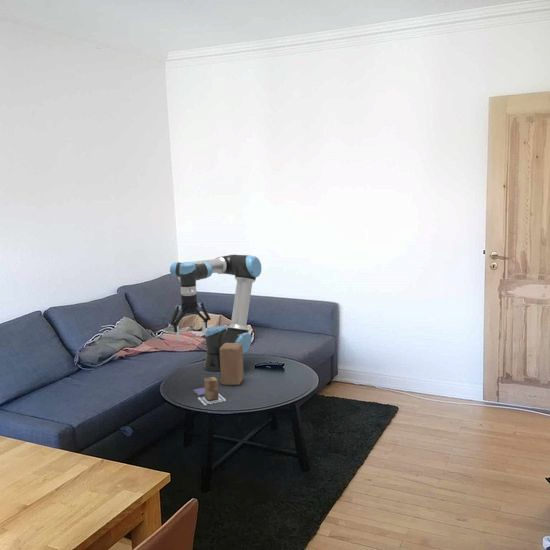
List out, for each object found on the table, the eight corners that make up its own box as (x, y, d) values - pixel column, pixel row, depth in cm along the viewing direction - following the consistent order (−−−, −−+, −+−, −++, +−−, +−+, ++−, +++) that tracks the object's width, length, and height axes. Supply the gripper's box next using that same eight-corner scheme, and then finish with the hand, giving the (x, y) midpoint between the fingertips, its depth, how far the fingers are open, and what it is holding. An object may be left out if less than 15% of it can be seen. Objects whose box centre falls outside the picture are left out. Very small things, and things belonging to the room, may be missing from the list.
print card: (218, 394, 286) (218, 393, 286) (226, 400, 277) (226, 399, 277) (197, 398, 281) (197, 397, 281) (204, 405, 272) (204, 404, 272)
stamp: (214, 396, 282) (213, 376, 280) (218, 399, 278) (217, 379, 276) (205, 398, 280) (204, 378, 278) (208, 401, 275) (207, 381, 274)
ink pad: (209, 388, 294) (209, 386, 294) (216, 394, 286) (216, 391, 286) (193, 391, 290) (192, 389, 290) (198, 397, 282) (198, 395, 282)
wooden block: (239, 385, 296) (237, 348, 293) (220, 385, 298) (218, 347, 295) (244, 379, 306) (242, 342, 303) (226, 378, 308) (224, 342, 305)
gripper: (165, 298, 273) (168, 342, 276) (215, 292, 284) (217, 334, 287) (161, 296, 279) (164, 338, 283) (210, 290, 290) (212, 331, 294)
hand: (191, 336), depth 285 cm, fingers open, 13 cm apart
